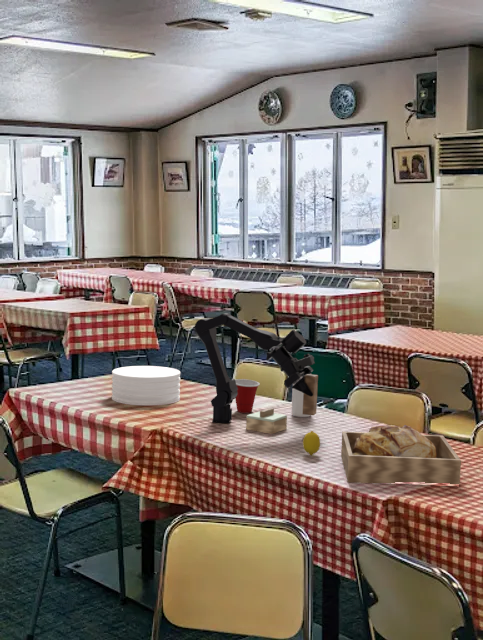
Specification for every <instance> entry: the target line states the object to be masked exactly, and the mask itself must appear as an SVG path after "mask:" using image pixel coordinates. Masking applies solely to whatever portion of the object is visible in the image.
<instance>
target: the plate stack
mask: <svg viewBox="0 0 483 640" xmlns="http://www.w3.org/2000/svg"><path fill="white" fill-rule="evenodd" d="M111 375H112V377H111V381H112V382H111V387H112V388H111V400H112V401H113V402H116V403H118V404H123V405H125V404H126V405H132V406H163V405H170V404H173V403H177V402H179V401H180V400H181V396H180V394H181V390H180V388H181V371H180V370H179V369H177V368H173V367H166V366H158V365H157V366H156V365H131V366H121V367H118V368H117V367H116V368H114V369H113V370H112V371H111Z"/></svg>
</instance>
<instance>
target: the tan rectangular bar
mask: <svg viewBox="0 0 483 640" xmlns="http://www.w3.org/2000/svg"><path fill="white" fill-rule="evenodd" d="M318 381H319V375H318V374H312V373H311V374H307V375H305V382H306V384H307V385H308V387H309V388H310V390H311V391H312V393H313V396H309V395H307V394H305V393H303V414H305V415H311V416H315V415H316V414H317V407H318V406H317V405H318V385H319V384H318V383H319V382H318Z"/></svg>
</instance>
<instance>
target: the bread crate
mask: <svg viewBox="0 0 483 640" xmlns="http://www.w3.org/2000/svg"><path fill="white" fill-rule="evenodd" d="M364 433H367V432H365V431H364V432H363V431H361V432H360V431H344V430H343V431H342V432H341V449H340V450H341V453H340V457H341V460H342V464H343V469H344V473H345V478H346V482H347V483H352V484H353V483H355V484H372V483H395V482H425V483H450V484H460V483H461V468H462V467H461V466H462V460H461V458H460V457H459V456H458V454H457V453H456V452H455V450H454V449H453V447H452V445H451V444H450V443H449V442H448V440H447V439H446V438H445V436H444V435H439V434H438V435H437V434H422V435H423V436H425V437H426V438H428V440H430V441H431V442H432V443H433V444H434V446H435V448H436V453H437V456H436V458H417V457H393V456H369V455H353V448H354V446H355V442H356V438H359V436H360V435H361V434H364ZM460 485H461V484H460Z"/></svg>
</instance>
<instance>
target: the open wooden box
mask: <svg viewBox="0 0 483 640" xmlns="http://www.w3.org/2000/svg"><path fill="white" fill-rule="evenodd" d="M287 421H288V417H286V418H283V419H280V420H278V421H275V422H269V421H263V420H258V419H252V418H246V421H245V422H246V423H245V425H246V426H245V430H248V431H254V432H258V433H265V434H270V435H273V434H276V433H279V432H282V431H285V430H287V425H288V422H287Z"/></svg>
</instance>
